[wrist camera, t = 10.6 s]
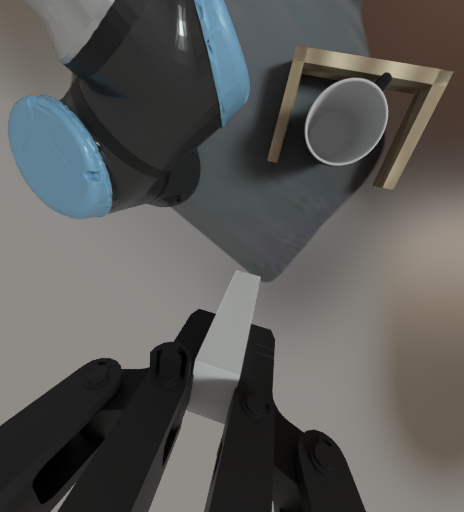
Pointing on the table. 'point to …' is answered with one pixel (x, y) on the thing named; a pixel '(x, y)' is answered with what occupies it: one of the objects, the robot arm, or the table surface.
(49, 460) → the robot arm
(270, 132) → the table surface
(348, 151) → the mug
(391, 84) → the bay
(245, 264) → the table surface
